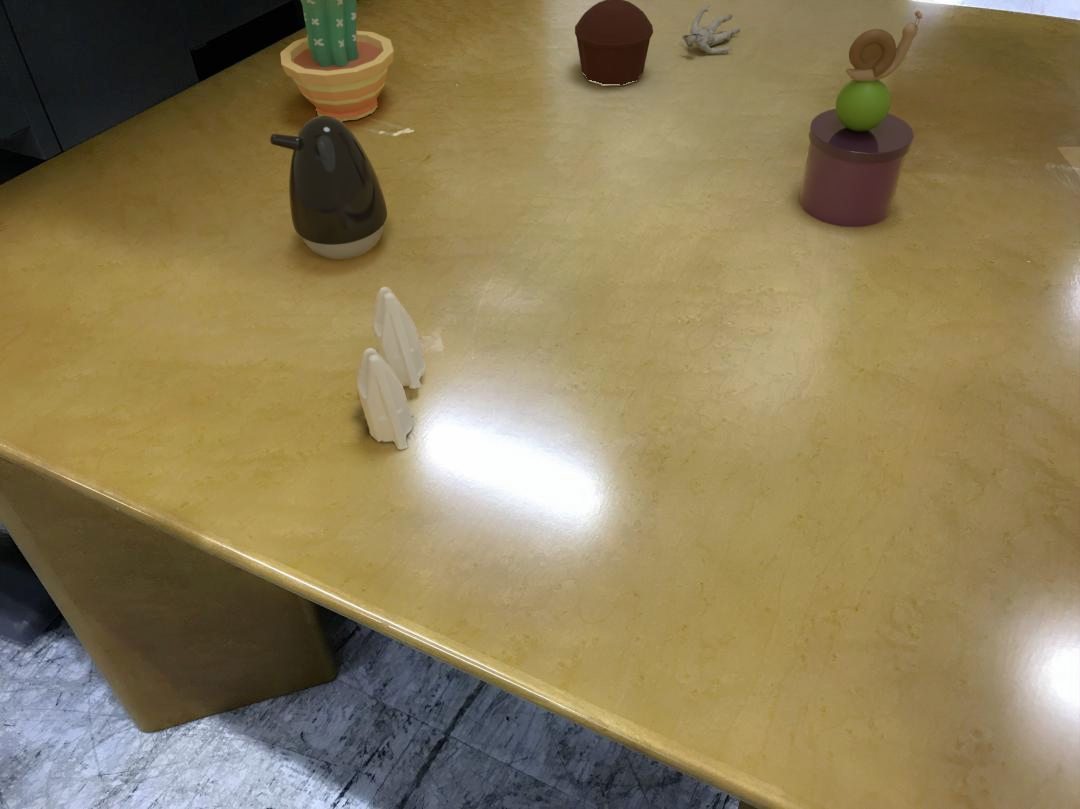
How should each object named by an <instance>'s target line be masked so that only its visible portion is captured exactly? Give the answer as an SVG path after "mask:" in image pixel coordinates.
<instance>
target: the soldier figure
mask: <svg viewBox="0 0 1080 809" xmlns="http://www.w3.org/2000/svg"><path fill="white" fill-rule="evenodd" d="M711 7H712V5H711V4H706V5H704V6H703V7H702V8H701V9H700V10H699V12H698V13H697V15H696V17H695V18H694V19H693V21H692V24H691V28H690V34H684V35H682V36H681V37H682V39H683V41H684V42H685V44H686V46H687V48H688V51H690V50H691V49H692V47H693V46H694V45H696V46H697V48H698V49H699V50H701V51H702V52H704V53H706V54H708V55H720V54H723V53H727V54H728V53H729V52H732V51H733V47H731V46H726V47H723V48H713V47H712V46H716V45H717V44H721V43H723V42H724V41H729V40H730V39H731V36H734V35H737V34H739V33H740V32H741V28H740V27H735V28H734V29H731V30H728V31H727V30H725V31H723V32H721V33H716V31H717V29H718V28H719V27H721V25H722V24H723V23H726V22H728V21H731V20H732V18H733V17H734V14H733V13H732V12H730V13H728V14H726V15H725V16H723V17H716V18H715V19H714V20H712V21H711V23H710V24H709V25H708V26H701V27H699V23H700V22H701V20H702V17H703V15H704V13H708V12H709V11H710V10H709V8H711ZM715 33H716V34H715Z"/></svg>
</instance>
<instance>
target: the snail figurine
mask: <svg viewBox="0 0 1080 809" xmlns="http://www.w3.org/2000/svg"><path fill="white" fill-rule="evenodd" d="M914 16H915V17H916V18H915V20H914V23H913V22H912V23H911V22H910V23H907V24H906V25H904V27H903V28H902V34H901V35H902V36H901V38H900V40H899V43H898V45H897V44H896V43H897V42H896V41H895V40H896V39H895V38H894V36H893V35H892V34H891V33H890V32H888V31H887V30H884V29H881V28H874V29H869V30H866V31H864V32H862V33H861V34H859V35H858V36H857V37H856V38H855V39H854V40H853V42H852V43H851V46H850V47H849V51H848V60H849V62H850V64H851V65H852V67H853V68H846V69H845V72H846V74H847V75H848V76H849V78H850V79H851V80H850V81H849V82H847V83H846V84H845V85H844V86H843V87H842V88H841V89H840V90H839V93H838V94H837V97H836V100H835V109H836V114H837V117H838V119H839V121H840V122H841V123H842V124H843V125H844V126H845V127H846V128H848V129H850V130H853V131H867V130H871V129H873V128H875V127H876V126H878V125H879V124H880V123H881V122H882V121H883V120H884V119H885V118H886V116H887V114H888V113H889V112H890V109H891V104H892V98H891V94H890V91H889V88H888V87H887V86H886V84H885V83H884V82H882V81H881V80H882V79H884V78H886V77H889V76H890V75H891V74H893V73H895V71H896V70H897V69H898V68H899V67H900V65H901V64H902V62H903V61H904V60H905V57H907V54H908V52H909V50H910V48H911V46H912V42H913V40H914V39H915V37H916V36H917V34H918V31H919V27H918V26H919V23H920V21H921V19H922V18H923V13H922V12H921V11H920V10H916V11H915V12H914ZM917 21H918V22H917ZM916 23H917V24H916Z"/></svg>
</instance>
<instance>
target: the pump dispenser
mask: <svg viewBox="0 0 1080 809" xmlns="http://www.w3.org/2000/svg"><path fill="white" fill-rule="evenodd" d="M298 132H299V133H298V134H297V135H287V134H279V133H271V135H270V139H269V141H270V144H271V145H273V146H276V147H280V148H283V149H284V148H285V149H287V150H288V149H289V150H292V154H291V160H290V166H289V168H290V169H289V178H288V179H289V180H288V194H289V207H290V215H291V221H292V225H293V229H294V230H295V232H296V233H297V235H299V237H300V238H301V239H302V241H303V243H304V244H305V245H306V246H307V247H308V248H309V249H310V250H311V251H313V252H314V253H315V254H316V255H319V256H321V257H323V258H326V259H330V260H339V261H341V260H352V259H355V258H358V257H361V256H363V255H365V254H367V253H368V252H370V251H371V250H372V249H373V248H374V247H375V246H376V245H377V244H378V243H379V240H380V239H381V237H382V235H383V232H384V228H385V223H386V221H387V217H388V209H387V204H386V200H385V199H386V198H385V196H384V192H383V189H382V186H381V183H380V180H379V177H378V175H377V172H376V170H375V168H374V165H373V163H372V162H371V160H370V157H369V156H368V154H367V153H366V151H365V149H364V148H363V146H362V144H361V143H360V141H359V140H358V138H357V137H356V135H355V133H353V132H352V131H351V130H350V128H349V127H348V126H347V125H346V124H345V122H341V121H340V120H338V119H336V118H333V117H329V116H315V117H312V118H310V119H309V120H307V121H306V122H305V123H304V124H303V125H302V127H301V129H300V131H298Z"/></svg>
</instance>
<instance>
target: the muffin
mask: <svg viewBox="0 0 1080 809" xmlns="http://www.w3.org/2000/svg"><path fill="white" fill-rule="evenodd" d="M653 34H654V27H653V24H652V23H651V21H650V20H649V18H648V17H647V15H646V14H645V12H644V11H642V10H641V9H640V8H639V7H638V6H637V5H635V4H634V3H632V2H631V1H628V0H601V1H598V2H597V3H595V4H594V5H592V6H591V7H589V9H587V10H586V11H585V12H584V13H583V15H581V17H580V19H579V20H578V21H577V23H576V24H575V25H574V35H575V37H576V43H577V50H578V56H579V62H580V69H581V73H582V72H583V73H584V74H585V75H586V77H587V79H588V80H592V81H596V82H599V83H602V84H620V85H623V84H626V83H628V82H632V81H636V80H638V79H640V77H641V76H642V75H643V74H644V69H645V65H646V60H647V56H648V53H649V52H648V51H649V47H650V46H649V45H650V42H651V38H652V36H653ZM642 73H643V74H642ZM641 74H642V75H641ZM640 75H641V76H640ZM639 76H640V77H639ZM587 79H586V80H587ZM638 81H639V80H638Z"/></svg>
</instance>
